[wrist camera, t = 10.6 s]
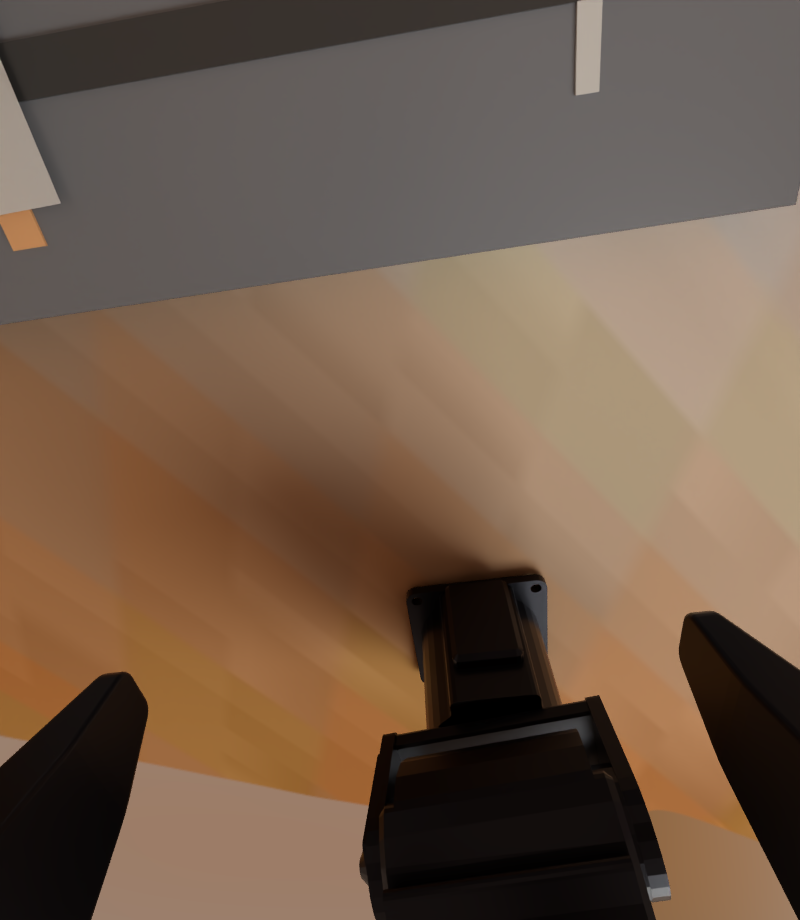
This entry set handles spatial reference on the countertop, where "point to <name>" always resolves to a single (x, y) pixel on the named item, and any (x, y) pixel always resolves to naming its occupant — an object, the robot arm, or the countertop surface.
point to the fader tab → (20, 159)
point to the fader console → (377, 133)
